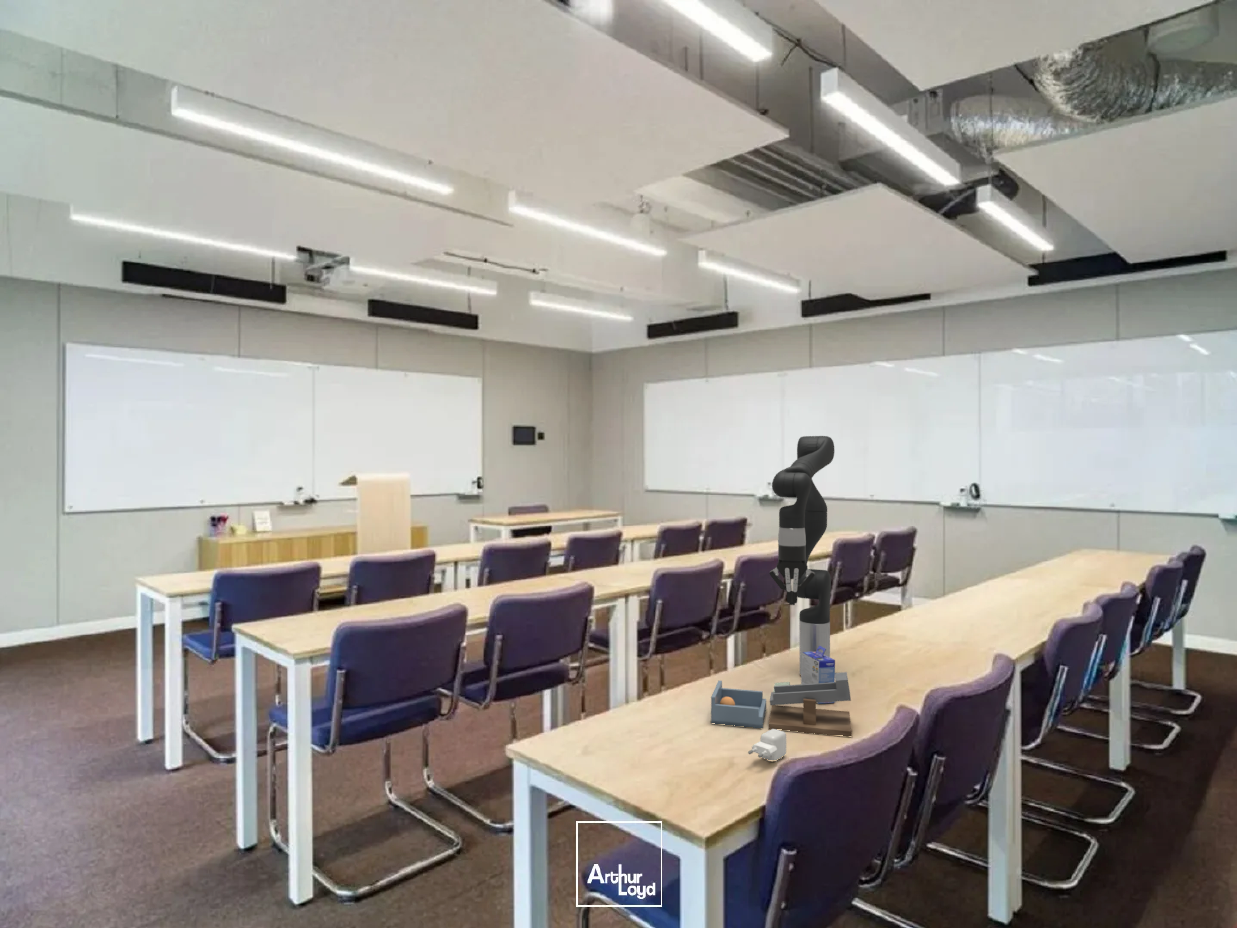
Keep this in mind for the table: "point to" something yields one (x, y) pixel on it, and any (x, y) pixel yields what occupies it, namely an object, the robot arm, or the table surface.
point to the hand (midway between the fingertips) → (792, 604)
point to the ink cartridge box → (817, 668)
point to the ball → (727, 701)
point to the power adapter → (771, 745)
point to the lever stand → (810, 719)
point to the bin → (738, 707)
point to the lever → (812, 691)
